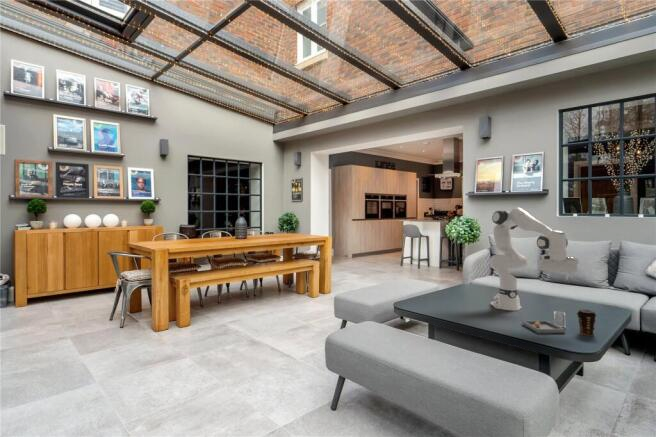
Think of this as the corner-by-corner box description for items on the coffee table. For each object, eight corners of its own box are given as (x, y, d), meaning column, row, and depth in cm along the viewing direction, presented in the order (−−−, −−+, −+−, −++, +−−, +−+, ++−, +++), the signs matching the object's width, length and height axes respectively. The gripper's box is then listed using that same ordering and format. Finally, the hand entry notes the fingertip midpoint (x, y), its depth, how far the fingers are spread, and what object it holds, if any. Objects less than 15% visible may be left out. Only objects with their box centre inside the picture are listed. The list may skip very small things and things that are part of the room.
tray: (522, 325, 213) (522, 320, 213) (546, 324, 214) (546, 320, 214) (538, 333, 197) (538, 329, 197) (564, 333, 198) (564, 329, 198)
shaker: (554, 324, 215) (553, 311, 215) (564, 325, 212) (564, 312, 212) (554, 326, 209) (554, 313, 209) (565, 328, 207) (565, 314, 207)
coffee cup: (588, 331, 201) (588, 308, 201) (600, 336, 193) (600, 312, 193) (574, 331, 201) (573, 309, 201) (585, 336, 192) (585, 313, 192)
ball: (538, 323, 205) (533, 324, 207) (541, 327, 205) (536, 328, 206) (538, 320, 207) (533, 322, 209) (541, 324, 207) (536, 325, 209)
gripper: (577, 257, 214) (577, 279, 214) (538, 255, 224) (538, 276, 224) (578, 258, 208) (578, 281, 209) (539, 256, 218) (539, 278, 219)
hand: (557, 278), depth 216 cm, fingers open, 8 cm apart
